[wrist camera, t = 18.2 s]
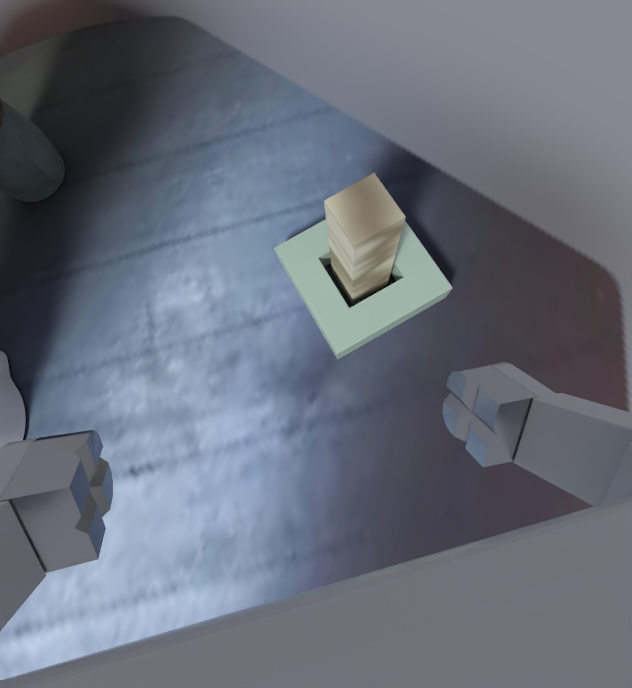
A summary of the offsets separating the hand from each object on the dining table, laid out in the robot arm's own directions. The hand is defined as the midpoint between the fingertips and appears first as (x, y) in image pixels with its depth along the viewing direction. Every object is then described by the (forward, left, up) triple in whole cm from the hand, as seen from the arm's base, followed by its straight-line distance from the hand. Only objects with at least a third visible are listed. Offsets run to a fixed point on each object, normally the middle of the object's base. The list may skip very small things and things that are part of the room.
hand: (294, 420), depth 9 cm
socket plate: (-2, +16, -31) cm, 36 cm away
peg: (-2, +16, -32) cm, 36 cm away
